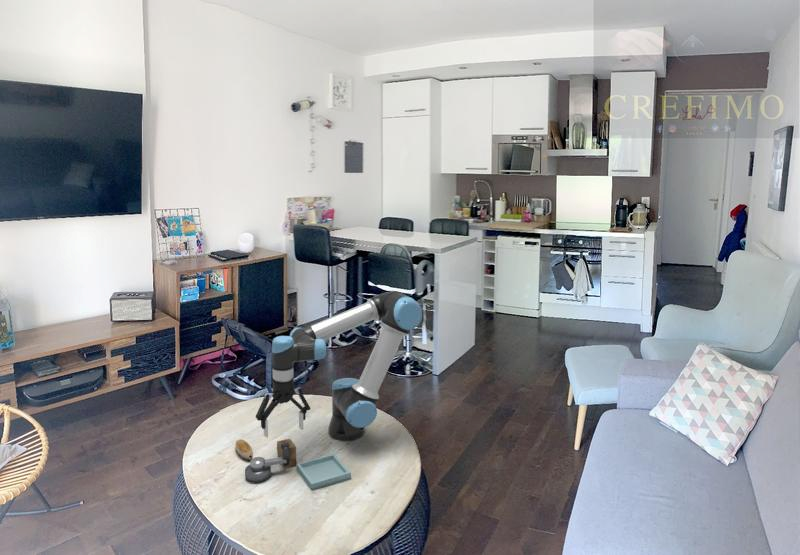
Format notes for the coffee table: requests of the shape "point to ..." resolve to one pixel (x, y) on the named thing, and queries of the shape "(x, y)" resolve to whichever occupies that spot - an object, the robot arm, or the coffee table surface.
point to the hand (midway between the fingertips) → (283, 432)
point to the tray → (323, 471)
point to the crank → (271, 460)
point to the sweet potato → (244, 449)
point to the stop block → (291, 453)
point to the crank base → (257, 475)
